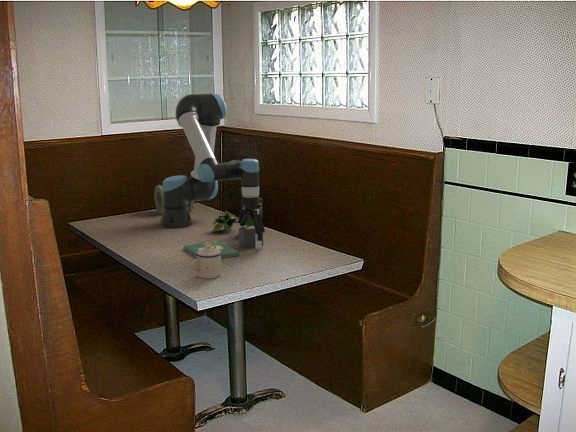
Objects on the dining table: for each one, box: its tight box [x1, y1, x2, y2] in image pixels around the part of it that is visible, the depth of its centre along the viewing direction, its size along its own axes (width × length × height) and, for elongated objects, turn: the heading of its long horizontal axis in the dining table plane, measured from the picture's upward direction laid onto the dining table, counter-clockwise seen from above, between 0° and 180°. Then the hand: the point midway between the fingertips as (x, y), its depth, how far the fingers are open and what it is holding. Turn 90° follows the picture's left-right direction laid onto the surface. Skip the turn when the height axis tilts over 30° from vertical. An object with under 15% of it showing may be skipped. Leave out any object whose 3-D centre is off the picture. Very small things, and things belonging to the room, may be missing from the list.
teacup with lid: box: [190, 245, 222, 280], centre depth 236 cm, size 12×9×12 cm
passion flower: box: [212, 211, 239, 235], centre depth 299 cm, size 11×11×12 cm
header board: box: [183, 240, 240, 259], centre depth 267 cm, size 20×16×4 cm
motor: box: [245, 197, 263, 227], centre depth 294 cm, size 10×9×20 cm
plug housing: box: [238, 226, 264, 249], centre depth 276 cm, size 5×9×8 cm, turn 121°
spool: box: [153, 184, 195, 215], centre depth 338 cm, size 16×15×15 cm
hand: (251, 244), depth 276 cm, fingers open, 13 cm apart
